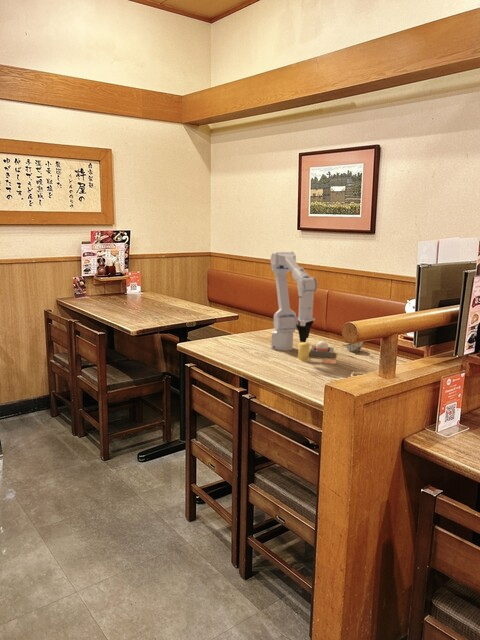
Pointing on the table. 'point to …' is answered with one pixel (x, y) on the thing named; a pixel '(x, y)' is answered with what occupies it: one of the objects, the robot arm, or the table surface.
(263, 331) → the table surface
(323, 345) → the dome
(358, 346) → the grey rock
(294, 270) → the robot arm
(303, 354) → the yellow upright block
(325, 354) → the grey square tray
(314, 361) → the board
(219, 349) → the table surface
